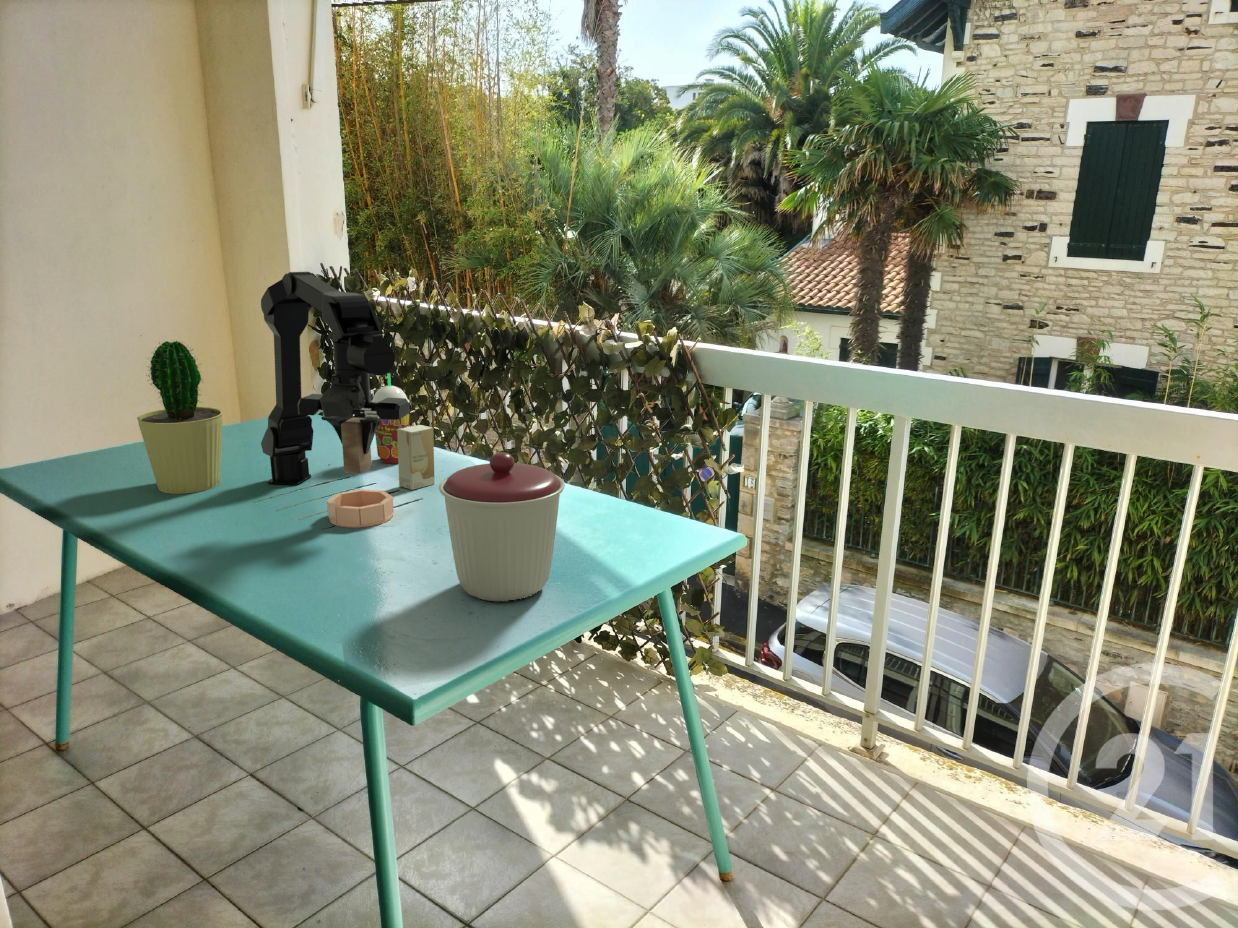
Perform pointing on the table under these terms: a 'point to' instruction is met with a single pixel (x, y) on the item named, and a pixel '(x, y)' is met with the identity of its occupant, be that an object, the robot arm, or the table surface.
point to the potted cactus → (181, 425)
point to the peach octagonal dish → (360, 508)
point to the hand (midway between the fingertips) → (357, 453)
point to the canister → (502, 526)
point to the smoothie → (389, 425)
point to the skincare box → (416, 456)
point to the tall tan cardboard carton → (354, 447)
